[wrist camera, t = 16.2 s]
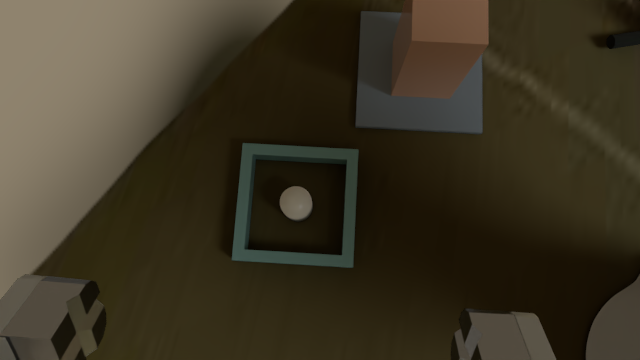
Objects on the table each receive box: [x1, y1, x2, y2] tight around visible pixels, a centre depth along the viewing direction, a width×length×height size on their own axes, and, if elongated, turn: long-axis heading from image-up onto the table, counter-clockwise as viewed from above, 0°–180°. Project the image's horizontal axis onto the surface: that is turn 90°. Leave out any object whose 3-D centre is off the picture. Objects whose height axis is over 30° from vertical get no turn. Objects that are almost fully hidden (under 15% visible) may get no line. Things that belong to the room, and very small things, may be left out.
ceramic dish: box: [232, 143, 359, 268], centre depth 42 cm, size 11×11×3 cm
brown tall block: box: [391, 0, 489, 99], centre depth 40 cm, size 6×6×11 cm
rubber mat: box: [355, 11, 482, 134], centre depth 46 cm, size 12×12×1 cm
